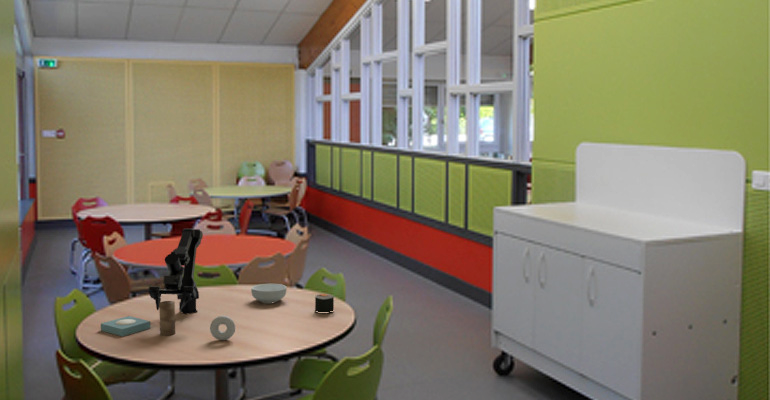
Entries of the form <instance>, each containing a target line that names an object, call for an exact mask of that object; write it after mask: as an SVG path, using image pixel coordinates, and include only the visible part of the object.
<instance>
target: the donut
mask: <svg viewBox="0 0 770 400" xmlns="http://www.w3.org/2000/svg"><path fill="white" fill-rule="evenodd" d="M220 325H224V326H226V330H225V331H221V330H220V329H219V327H220ZM209 330H210V334H211V336H212V337H214V339H216V340H218V341H227V340H229V339H231V338H232V337H233V336H234V334H235V332H236V324H235V322H234V320H233V319H232V318H231V317H229V316H228V315H219V316H217V317H215V318H214V319H212V321H211V323H210V326H209Z"/></svg>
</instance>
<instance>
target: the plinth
mask: <svg viewBox="0 0 770 400" xmlns="http://www.w3.org/2000/svg"><path fill="white" fill-rule="evenodd" d="M151 325H152V324H151V321H150V320H147V319H142V318H138V317H135V316H130V315H128V316H124V317H123V316H122V317H120V318H117V319H116V318H115V319H113V320H109V321H105V322H101V323H100V331H101V332H105V333H108V334H112V335H116V336H120V337H125V336H128V335H132V334H135V333H139V332H142V331H145V330H149V329H151V327H152V326H151Z"/></svg>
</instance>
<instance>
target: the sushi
mask: <svg viewBox="0 0 770 400" xmlns="http://www.w3.org/2000/svg"><path fill="white" fill-rule="evenodd" d="M314 298H315V300H314V301H315V304H314V305H315V306H314V312H315V311H318V312H330V311H333V310H334V308H335V307H334V306H335V305H334V302H335V301H334V295H333V294H329V293H322V292H321V293H318V294H315V297H314ZM334 311H335V310H334ZM334 311H333V312H334Z"/></svg>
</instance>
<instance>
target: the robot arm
mask: <svg viewBox="0 0 770 400" xmlns="http://www.w3.org/2000/svg"><path fill="white" fill-rule="evenodd" d="M203 235H204V234H203V231H202V230H201V229H199V228H183V229H181V237H180V239H179V243H178V245H177V247H176V248H175V249H173V250H172V251H170V253H169V254H167V255H166V256H165V257H164V263H165V265H166V268H167V270H168V271H169V274H168V275H163V282H162V284H163V286H164V289H163V288H160V286H159V285H151V286H149V287H148V294H149V297H150V299H153V300H155V301H154V302H155V307H156V310H157V311H160V310H159V303H160V302H162V298H161V297H162V295H176V296H177V297H176V298H177V300H180V301H179V302H178V303H179V308H178V310H179V312H180V313H182V314H183V315H186V314H192V313H198V312H199V311H198V310H197V300H198V299H200V294H199V293H200V292H199V289H198V286H197V283H196V281H195V279H194V275H195V266H196V257H197V256H196V255H197V248H198V247H199V246H200V245H201V244H202V239H203V238H204V237H203Z"/></svg>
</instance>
